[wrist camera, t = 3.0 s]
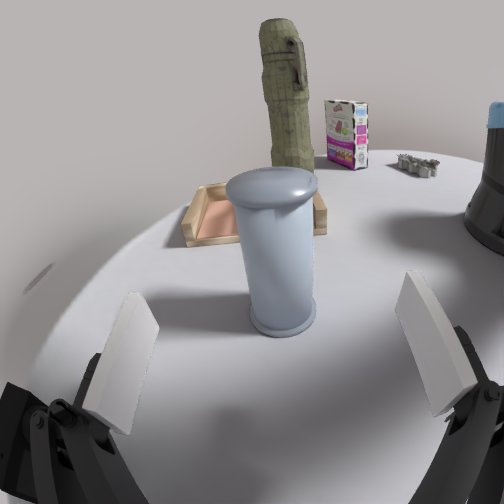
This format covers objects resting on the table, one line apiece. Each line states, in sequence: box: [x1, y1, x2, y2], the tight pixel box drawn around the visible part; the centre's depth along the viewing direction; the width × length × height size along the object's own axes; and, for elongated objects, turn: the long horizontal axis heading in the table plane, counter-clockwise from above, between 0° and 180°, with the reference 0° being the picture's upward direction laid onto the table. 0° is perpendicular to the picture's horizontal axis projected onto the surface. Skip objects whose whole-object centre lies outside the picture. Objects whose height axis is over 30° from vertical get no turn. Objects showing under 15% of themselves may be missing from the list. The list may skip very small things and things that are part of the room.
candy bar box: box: [324, 100, 368, 170], centre depth 58 cm, size 11×5×16 cm, turn 22°
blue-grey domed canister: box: [225, 167, 318, 338], centre depth 23 cm, size 7×7×14 cm
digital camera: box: [0, 382, 58, 504], centre depth 11 cm, size 10×5×7 cm, turn 0°
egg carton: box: [397, 154, 440, 178], centre depth 55 cm, size 11×8×4 cm
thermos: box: [259, 18, 315, 174], centre depth 47 cm, size 9×12×35 cm
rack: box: [181, 182, 327, 247], centre depth 44 cm, size 20×14×4 cm
